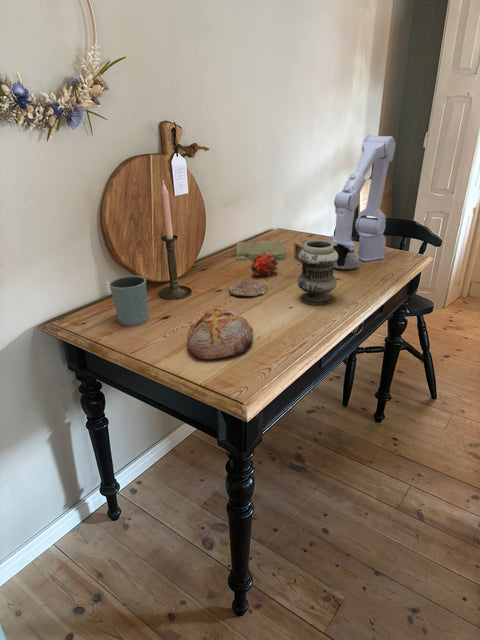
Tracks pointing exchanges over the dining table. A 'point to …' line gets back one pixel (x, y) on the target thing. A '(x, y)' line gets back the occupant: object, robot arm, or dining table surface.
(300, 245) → the oak shelf
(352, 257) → the stone block
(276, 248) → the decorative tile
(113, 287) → the teal cup
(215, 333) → the bread
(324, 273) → the apothecary jar
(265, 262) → the dragon fruit
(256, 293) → the shell
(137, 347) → the dining table surface
